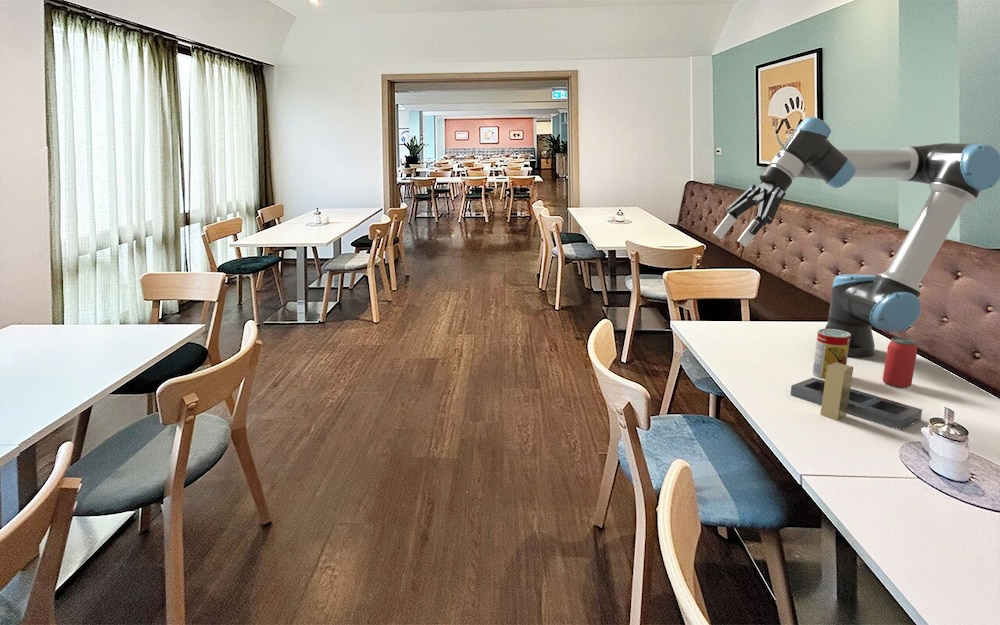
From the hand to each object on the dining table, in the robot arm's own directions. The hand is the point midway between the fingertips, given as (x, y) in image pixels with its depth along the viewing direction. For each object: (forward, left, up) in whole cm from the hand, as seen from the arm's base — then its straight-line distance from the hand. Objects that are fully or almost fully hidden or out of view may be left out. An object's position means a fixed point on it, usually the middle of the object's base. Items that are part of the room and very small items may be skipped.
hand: (728, 240), depth 178 cm
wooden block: (+5, +35, -36) cm, 50 cm away
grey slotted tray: (-4, +35, -36) cm, 50 cm away
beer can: (-29, +34, -36) cm, 58 cm away
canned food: (-21, +20, -36) cm, 47 cm away
